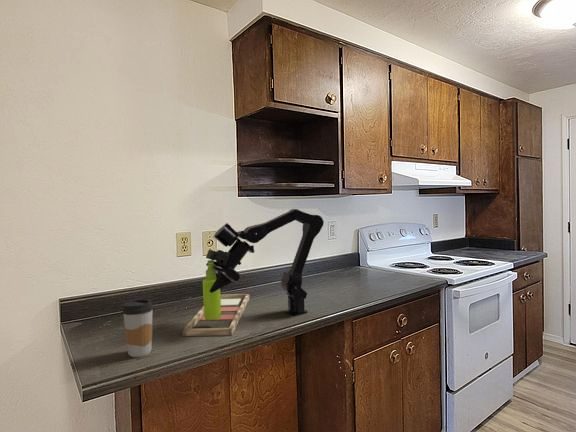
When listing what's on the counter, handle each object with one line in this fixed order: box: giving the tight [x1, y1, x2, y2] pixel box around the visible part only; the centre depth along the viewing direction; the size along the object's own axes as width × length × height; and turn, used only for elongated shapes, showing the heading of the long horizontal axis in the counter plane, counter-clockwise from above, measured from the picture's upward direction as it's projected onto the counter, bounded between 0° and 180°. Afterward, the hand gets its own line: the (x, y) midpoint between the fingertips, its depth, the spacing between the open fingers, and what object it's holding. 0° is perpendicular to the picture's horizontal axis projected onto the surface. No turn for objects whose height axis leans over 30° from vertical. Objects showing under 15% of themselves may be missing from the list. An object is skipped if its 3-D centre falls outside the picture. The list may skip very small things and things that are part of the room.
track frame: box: [182, 293, 251, 337], centre depth 140 cm, size 44×16×2 cm, turn 179°
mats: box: [199, 306, 240, 321], centre depth 140 cm, size 15×13×1 cm
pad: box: [221, 299, 242, 307], centre depth 156 cm, size 9×9×1 cm
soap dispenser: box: [202, 259, 222, 321], centre depth 125 cm, size 6×7×20 cm
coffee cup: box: [122, 298, 154, 358], centre depth 105 cm, size 8×8×15 cm
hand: (207, 290), depth 124 cm, fingers closed on soap dispenser, 6 cm apart
